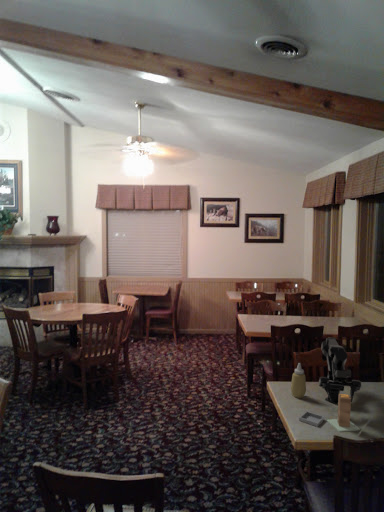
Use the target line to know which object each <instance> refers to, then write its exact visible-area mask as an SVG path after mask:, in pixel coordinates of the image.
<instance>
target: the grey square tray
mask: <svg viewBox="0 0 384 512" xmlns="http://www.w3.org/2000/svg"><path fill="white" fill-rule="evenodd" d="M298 421H299V422H302V423H304V424H308V425H311V426H314V427H316V428H317V427H319V426H320V425H321V424H322V423H323V422H324V421H325V416H323V415H321V414H317V413H313V412H311V411H308V410H306V411H305V412H304V413H302V415H300V416H299V417H298Z"/></svg>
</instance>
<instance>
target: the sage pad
mask: <svg viewBox="0 0 384 512" xmlns="http://www.w3.org/2000/svg"><path fill="white" fill-rule="evenodd" d="M337 419H338V418H331V419H327V420H326V421H327V422H328V423H329V424H330V425H331V426H332V427H333V428H334V429H336V431H338V432H339V433H343V432H355V431H360V430H361V429H360V428H359V426H357V425H356V424H355V423H354V422H352V421H351V420H350V427H343V426H339V425H338V422H337Z"/></svg>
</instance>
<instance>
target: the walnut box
mask: <svg viewBox="0 0 384 512" xmlns="http://www.w3.org/2000/svg"><path fill="white" fill-rule="evenodd" d="M351 407H352V402H351V398H350V394H343V393H340V394H339V399H338V403H337V418H336V419H337V422H338V425H339V426H343V427H350V421H351Z"/></svg>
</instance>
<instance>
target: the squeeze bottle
mask: <svg viewBox="0 0 384 512" xmlns="http://www.w3.org/2000/svg"><path fill="white" fill-rule="evenodd" d="M306 383H307V382H306V374H305V371H304V369H302V364H301V362H298V363H297V367H296V368H294V372H293V373H292V377H291V385H290V392H291V395H292V397H293V398H298V399H299V398H300V399H303V398H304V397H305V394H306V391H307V384H306Z"/></svg>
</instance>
